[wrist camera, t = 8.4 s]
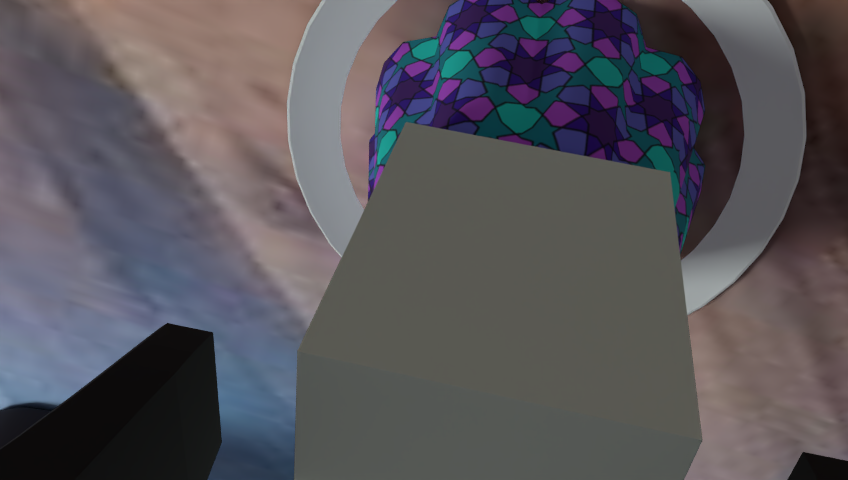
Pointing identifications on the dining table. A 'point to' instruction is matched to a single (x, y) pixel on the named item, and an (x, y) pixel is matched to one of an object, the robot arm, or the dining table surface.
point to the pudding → (562, 107)
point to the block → (502, 323)
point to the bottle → (17, 422)
